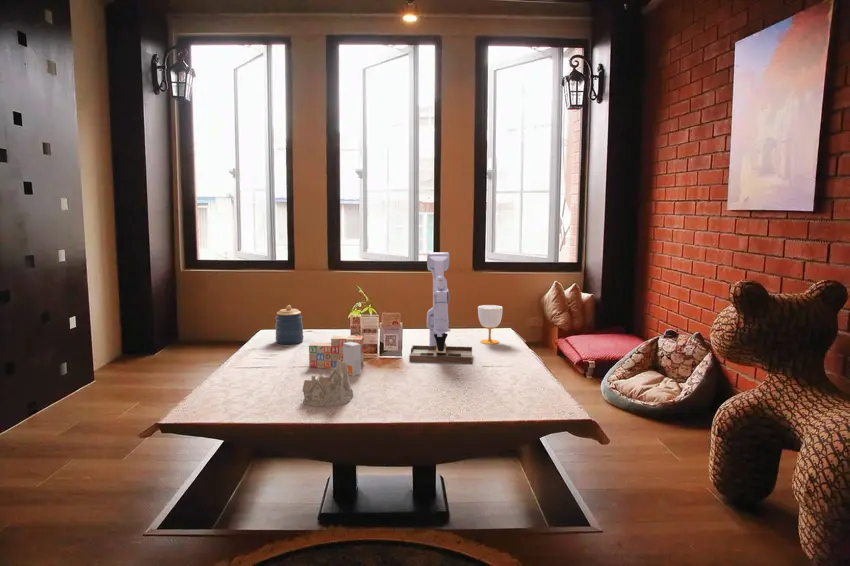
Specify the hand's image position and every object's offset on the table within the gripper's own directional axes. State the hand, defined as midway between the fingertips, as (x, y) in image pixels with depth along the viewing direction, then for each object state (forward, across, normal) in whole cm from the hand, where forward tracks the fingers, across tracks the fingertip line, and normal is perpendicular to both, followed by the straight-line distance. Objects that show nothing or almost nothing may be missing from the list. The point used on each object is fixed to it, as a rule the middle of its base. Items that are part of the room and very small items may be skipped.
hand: (440, 351), depth 255 cm
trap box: (+4, +4, 0) cm, 6 cm away
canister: (+3, +28, +74) cm, 79 cm away
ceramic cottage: (+7, -53, +34) cm, 63 cm away
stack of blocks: (+5, -12, +42) cm, 44 cm away
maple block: (+1, +2, 0) cm, 2 cm away
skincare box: (+6, -22, +33) cm, 40 cm away
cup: (+3, +38, -21) cm, 43 cm away
